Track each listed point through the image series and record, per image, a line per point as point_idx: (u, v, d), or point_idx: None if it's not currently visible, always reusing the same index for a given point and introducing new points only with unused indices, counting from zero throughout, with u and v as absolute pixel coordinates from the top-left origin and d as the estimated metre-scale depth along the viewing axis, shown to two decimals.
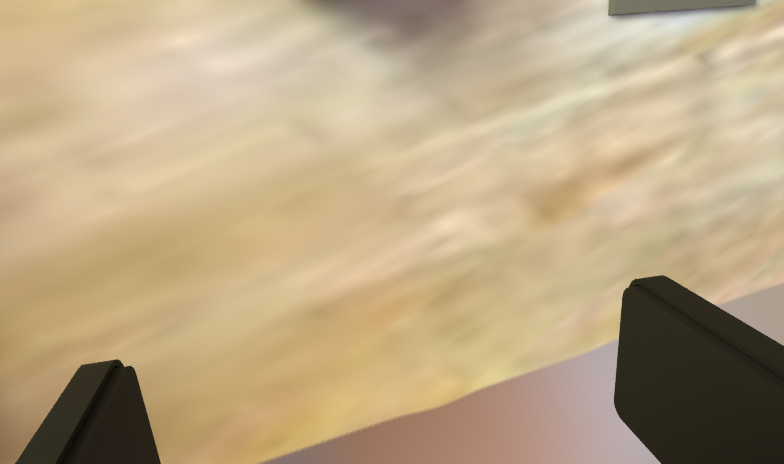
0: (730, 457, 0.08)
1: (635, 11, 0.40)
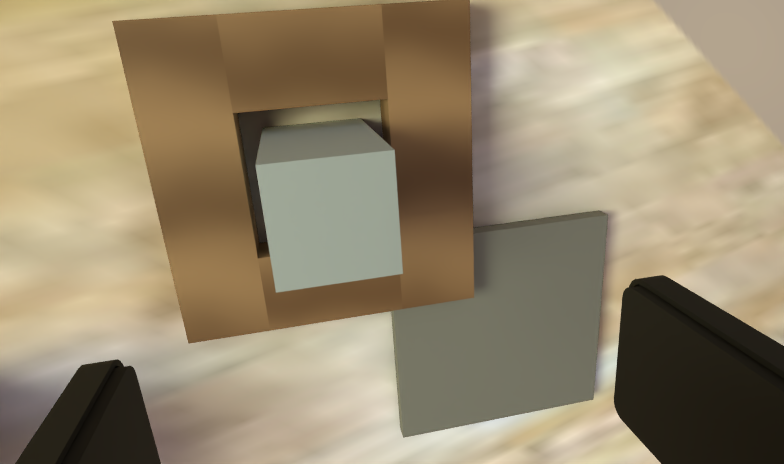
0: (730, 457, 0.08)
1: (432, 430, 0.31)
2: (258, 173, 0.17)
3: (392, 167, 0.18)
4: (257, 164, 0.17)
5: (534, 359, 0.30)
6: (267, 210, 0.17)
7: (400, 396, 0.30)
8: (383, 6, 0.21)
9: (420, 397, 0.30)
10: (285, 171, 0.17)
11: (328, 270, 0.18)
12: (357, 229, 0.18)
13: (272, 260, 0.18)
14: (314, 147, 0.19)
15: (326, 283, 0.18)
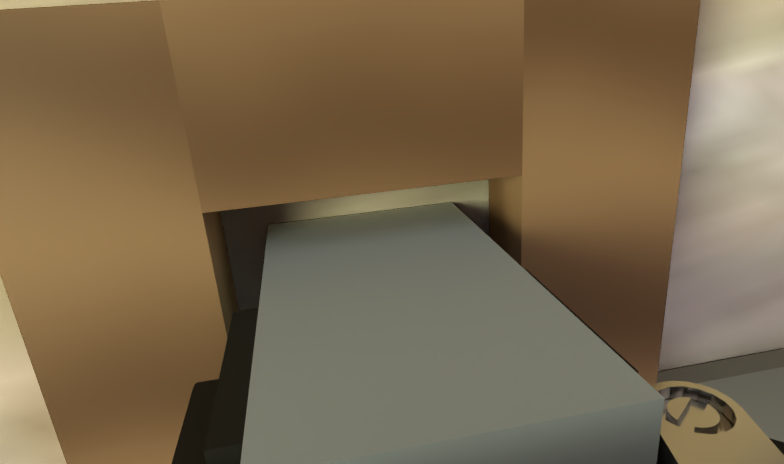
0: None
1: None
2: None
3: (649, 442, 0.06)
4: None
5: None
6: None
7: None
8: None
9: None
10: None
11: None
12: None
13: None
14: (401, 344, 0.07)
15: None
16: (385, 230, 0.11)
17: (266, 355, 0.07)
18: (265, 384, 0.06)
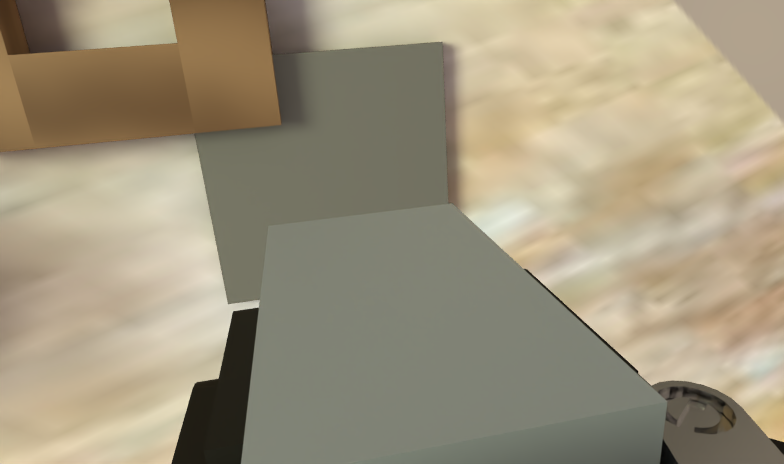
0: None
1: None
2: None
3: (653, 447, 0.06)
4: None
5: None
6: None
7: (219, 253, 0.26)
8: None
9: (242, 255, 0.27)
10: None
11: None
12: None
13: None
14: (402, 347, 0.07)
15: None
16: (385, 231, 0.11)
17: (266, 358, 0.07)
18: (265, 387, 0.06)
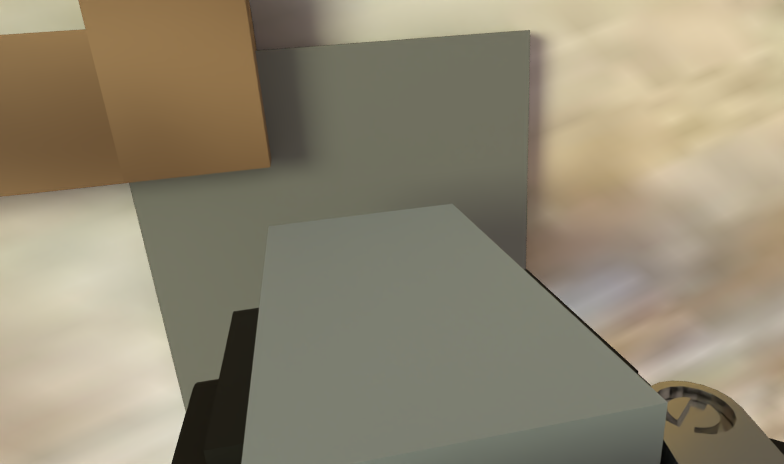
0: None
1: None
2: None
3: (653, 447, 0.06)
4: None
5: None
6: None
7: (174, 360, 0.17)
8: None
9: (211, 362, 0.17)
10: None
11: None
12: None
13: None
14: (402, 347, 0.07)
15: None
16: (385, 232, 0.11)
17: (266, 359, 0.07)
18: (266, 388, 0.06)
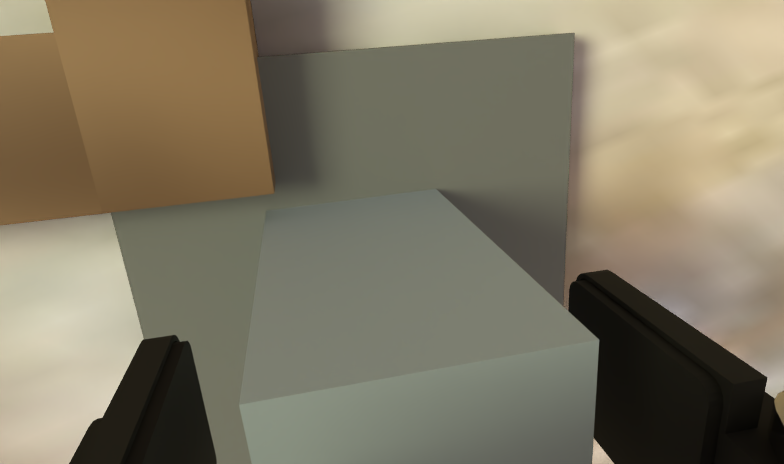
0: (657, 441, 0.08)
1: None
2: (248, 424, 0.06)
3: (588, 380, 0.07)
4: (245, 399, 0.06)
5: None
6: None
7: None
8: None
9: (207, 412, 0.15)
10: (321, 413, 0.06)
11: None
12: None
13: None
14: (381, 304, 0.08)
15: None
16: (373, 213, 0.13)
17: (263, 315, 0.08)
18: (262, 336, 0.07)
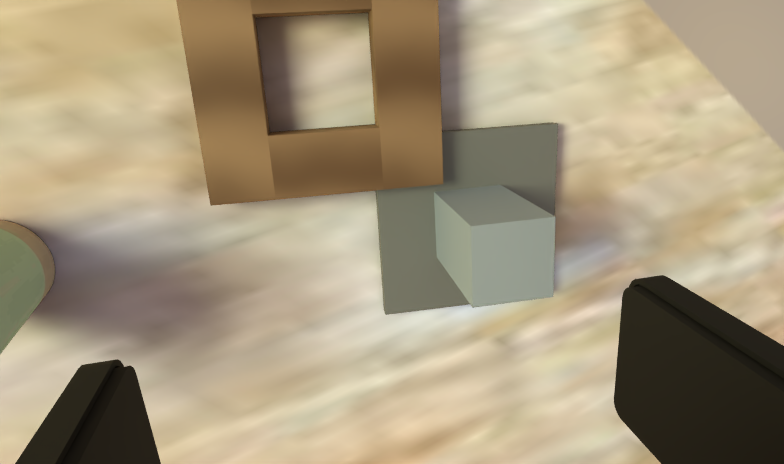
0: (730, 457, 0.08)
1: (410, 310, 0.36)
2: (472, 231, 0.27)
3: (553, 227, 0.27)
4: (471, 225, 0.27)
5: None
6: (474, 254, 0.27)
7: (383, 276, 0.35)
8: None
9: (400, 278, 0.35)
10: (488, 230, 0.27)
11: (506, 293, 0.28)
12: (528, 266, 0.28)
13: (473, 286, 0.27)
14: (495, 212, 0.29)
15: (504, 302, 0.28)
16: (479, 192, 0.33)
17: (462, 214, 0.29)
18: (466, 218, 0.28)
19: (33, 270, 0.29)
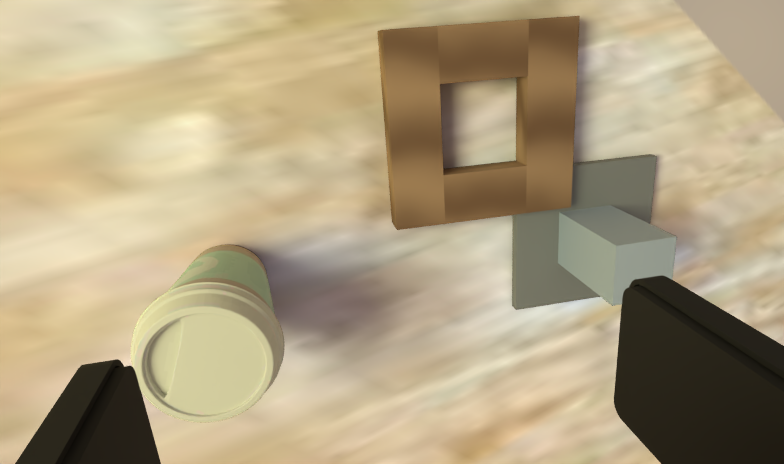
0: (730, 457, 0.08)
1: (534, 305, 0.45)
2: (617, 249, 0.35)
3: (674, 244, 0.36)
4: (616, 245, 0.35)
5: None
6: (617, 266, 0.36)
7: (516, 279, 0.44)
8: (529, 20, 0.36)
9: (529, 280, 0.44)
10: (628, 248, 0.36)
11: None
12: (654, 274, 0.37)
13: (614, 290, 0.36)
14: (626, 232, 0.37)
15: None
16: (598, 213, 0.42)
17: (600, 235, 0.37)
18: (606, 238, 0.37)
19: (268, 284, 0.38)
